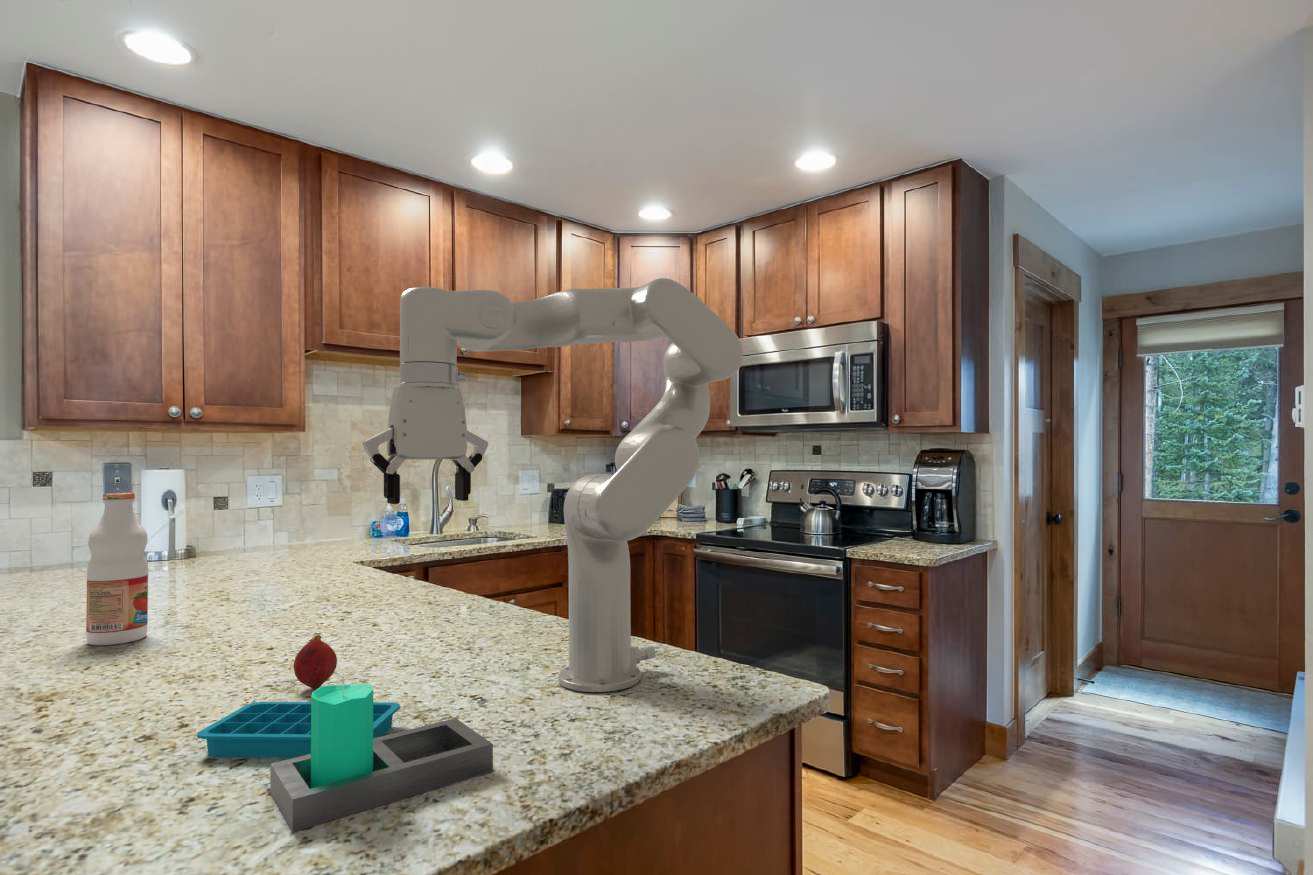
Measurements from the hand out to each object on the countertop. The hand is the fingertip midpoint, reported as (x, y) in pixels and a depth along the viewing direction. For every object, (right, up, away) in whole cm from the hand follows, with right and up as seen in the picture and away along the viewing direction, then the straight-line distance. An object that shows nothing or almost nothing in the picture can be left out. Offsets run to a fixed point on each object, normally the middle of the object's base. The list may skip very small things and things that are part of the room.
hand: (428, 501), depth 99 cm
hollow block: (+3, -28, -23) cm, 36 cm away
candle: (-1, -28, -26) cm, 38 cm away
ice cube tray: (-12, -29, -11) cm, 33 cm away
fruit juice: (-72, -30, +38) cm, 86 cm away
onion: (-19, -29, +8) cm, 36 cm away
